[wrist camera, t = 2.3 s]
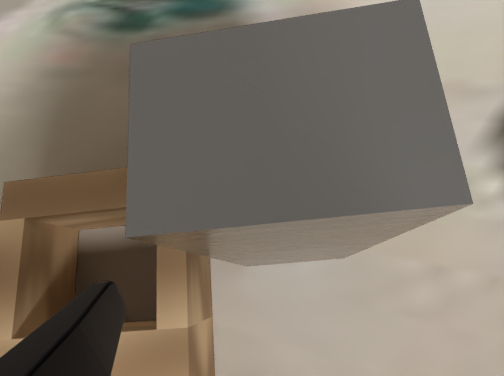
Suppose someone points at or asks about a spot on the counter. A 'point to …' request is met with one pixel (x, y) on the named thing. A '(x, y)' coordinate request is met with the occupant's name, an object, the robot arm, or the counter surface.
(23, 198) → the board with square holes
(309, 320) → the counter surface
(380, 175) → the grey square pillar
